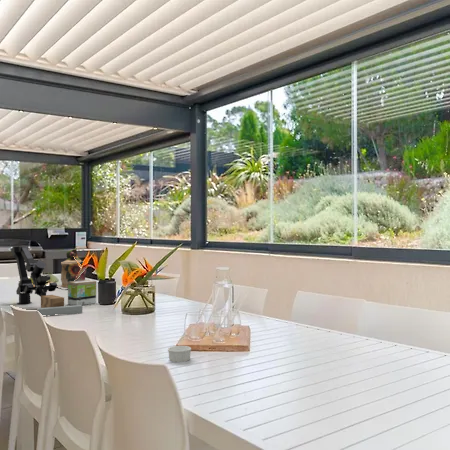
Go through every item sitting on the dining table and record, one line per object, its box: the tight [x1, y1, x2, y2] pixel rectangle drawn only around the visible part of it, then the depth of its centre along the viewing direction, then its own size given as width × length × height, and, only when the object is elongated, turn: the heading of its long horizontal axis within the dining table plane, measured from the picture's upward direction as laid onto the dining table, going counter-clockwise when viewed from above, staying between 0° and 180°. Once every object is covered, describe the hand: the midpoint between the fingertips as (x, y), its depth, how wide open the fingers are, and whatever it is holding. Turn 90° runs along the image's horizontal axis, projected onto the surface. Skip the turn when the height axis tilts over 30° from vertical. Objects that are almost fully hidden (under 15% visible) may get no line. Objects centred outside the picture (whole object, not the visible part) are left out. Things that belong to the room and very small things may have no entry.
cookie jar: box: [56, 247, 87, 291], centre depth 391 cm, size 25×25×32 cm
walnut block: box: [40, 294, 65, 308], centre depth 282 cm, size 16×7×9 cm, turn 44°
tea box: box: [67, 279, 97, 306], centre depth 310 cm, size 15×10×15 cm, turn 143°
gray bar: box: [37, 305, 83, 315], centre depth 274 cm, size 24×4×4 cm, turn 118°
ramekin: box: [167, 345, 192, 363], centre depth 184 cm, size 9×9×4 cm
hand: (45, 298), depth 289 cm, fingers closed
